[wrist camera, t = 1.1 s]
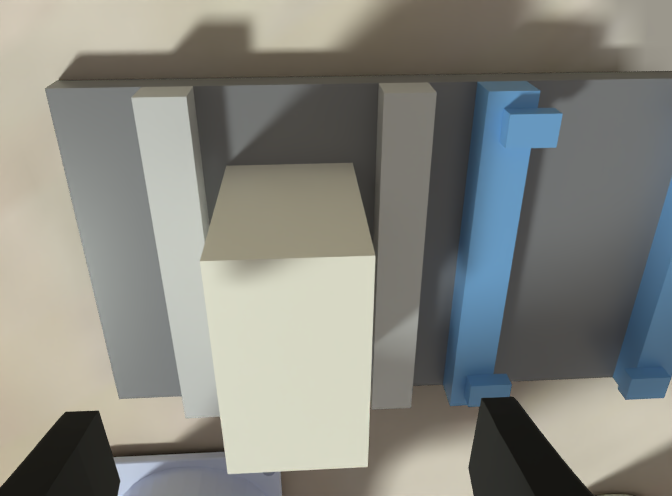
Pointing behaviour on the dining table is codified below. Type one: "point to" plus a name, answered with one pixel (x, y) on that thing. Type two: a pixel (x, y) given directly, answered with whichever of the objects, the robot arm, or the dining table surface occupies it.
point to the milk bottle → (615, 495)
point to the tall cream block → (291, 316)
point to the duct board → (395, 220)
